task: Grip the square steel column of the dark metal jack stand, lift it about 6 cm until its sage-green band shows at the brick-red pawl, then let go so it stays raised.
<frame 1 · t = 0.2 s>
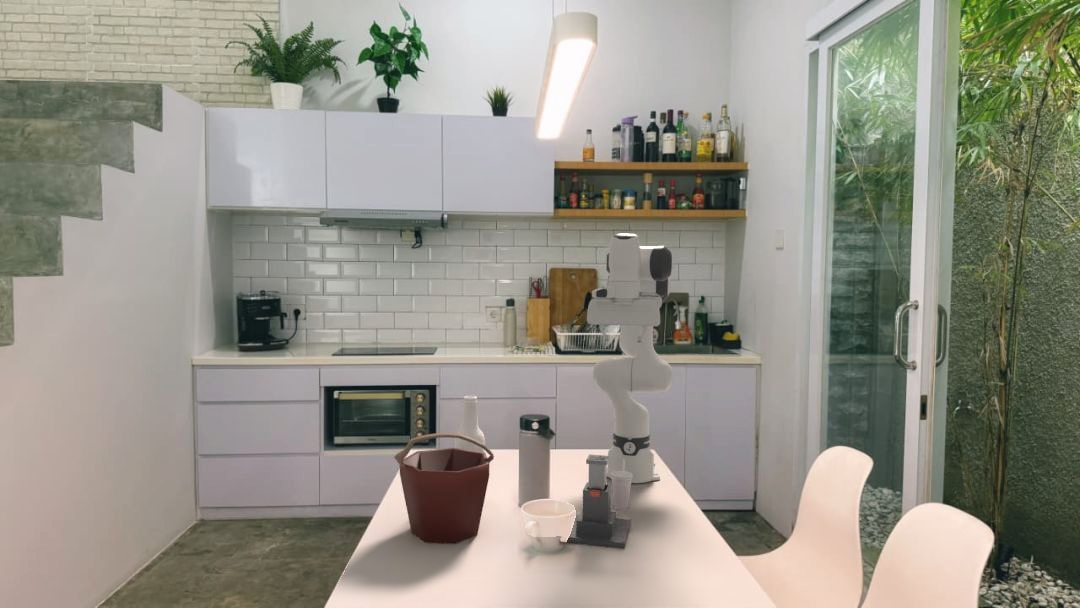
hand: (622, 341, 190), 48 cm above the table, fingers open, 8 cm apart
smoothie: (620, 507, 195), on the table
white bottle: (469, 498, 201), on the table
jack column: (597, 492, 175), point 11 cm above the table, slide at 0.0 cm
bucket: (445, 531, 176), on the table
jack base: (596, 533, 175), on the table
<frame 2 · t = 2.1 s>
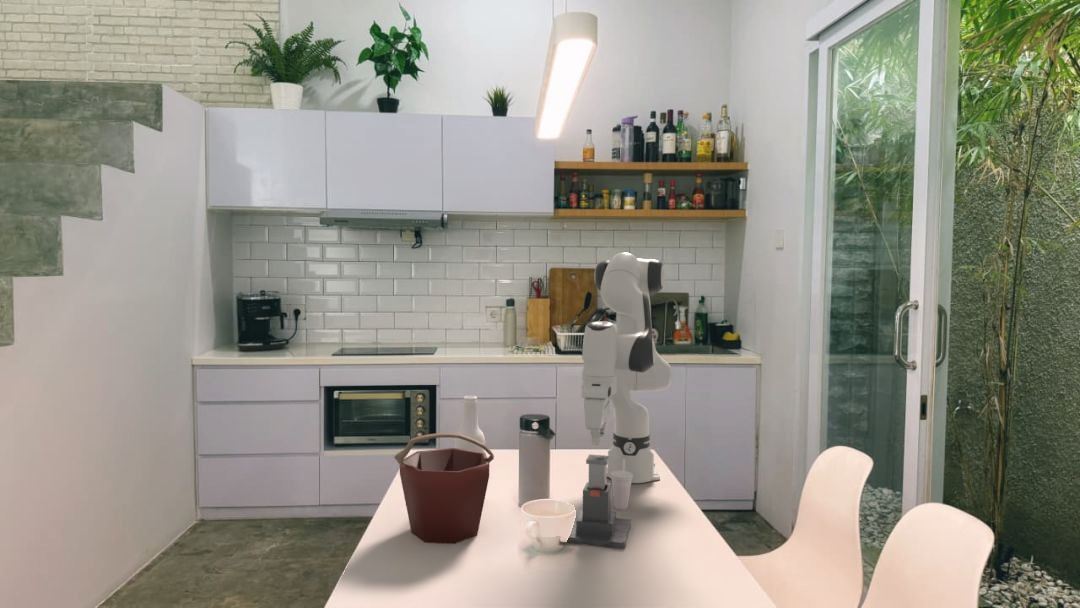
hand: (598, 440, 174), 24 cm above the table, fingers open, 8 cm apart
nothing on the table moved.
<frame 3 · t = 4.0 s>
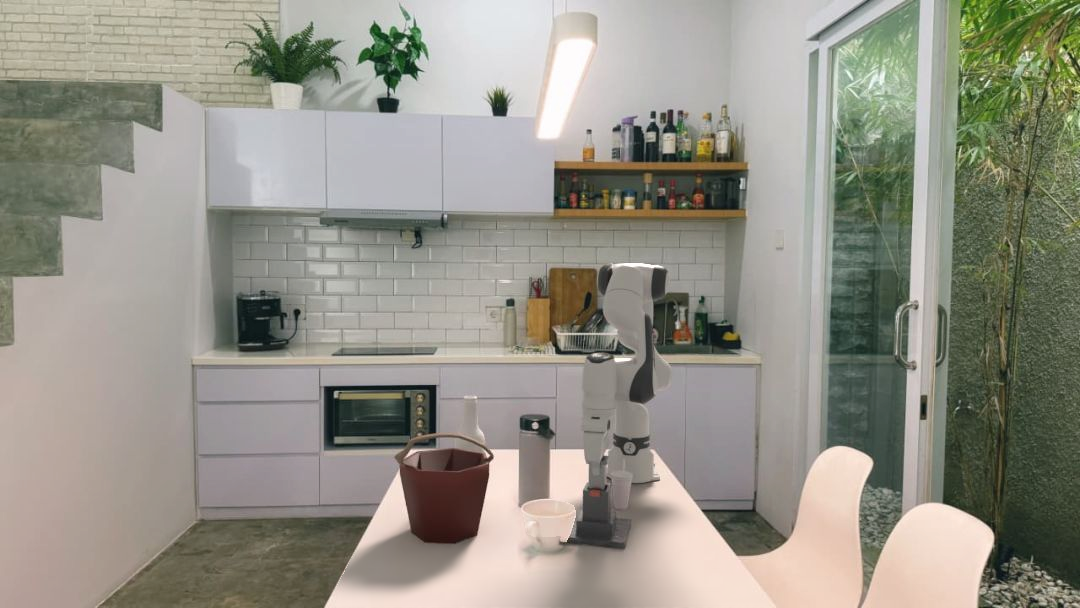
hand: (597, 471, 174), 16 cm above the table, fingers closed on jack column, 4 cm apart
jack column: (597, 492, 175), point 11 cm above the table, slide at 0.0 cm, touching gripper
everything else where it was.
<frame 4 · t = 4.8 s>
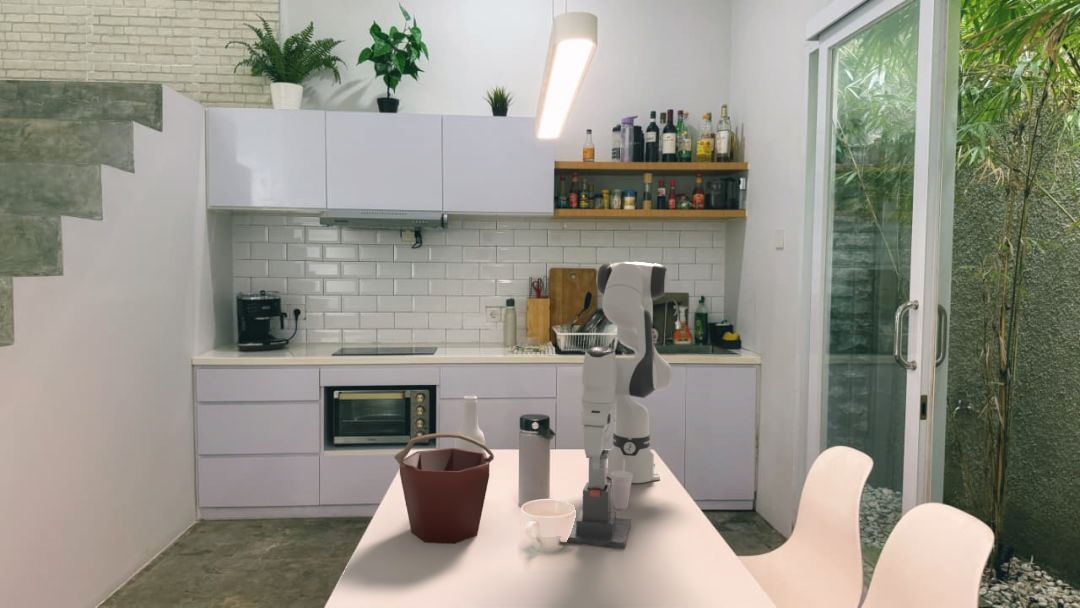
hand: (597, 465, 174), 18 cm above the table, fingers closed on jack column, 4 cm apart
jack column: (597, 486, 175), point 12 cm above the table, slide at 1.5 cm, touching gripper
everything else where it was.
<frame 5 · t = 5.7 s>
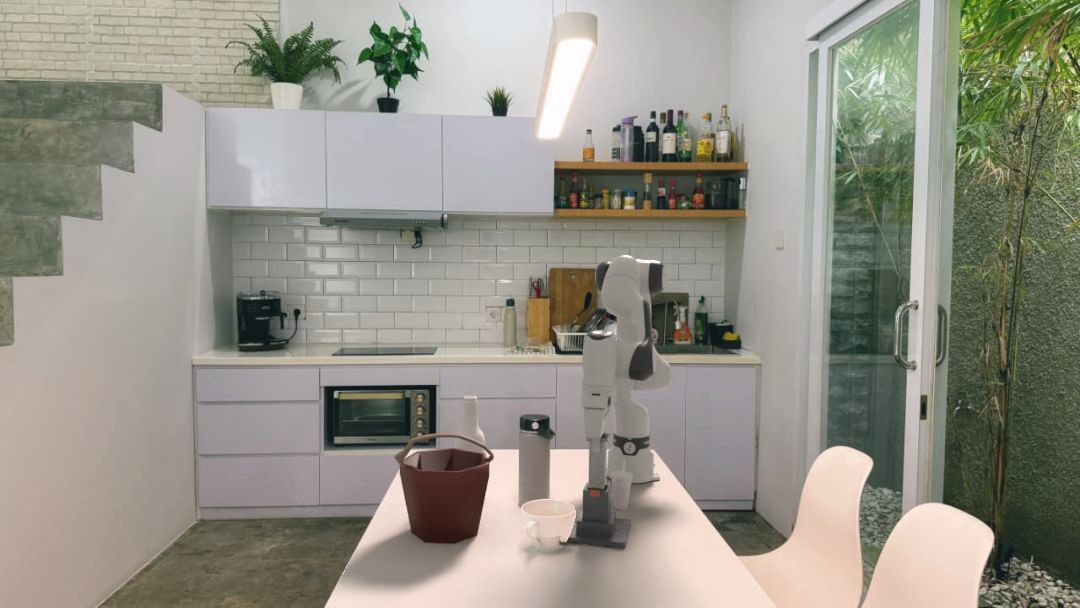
hand: (598, 448, 174), 22 cm above the table, fingers closed on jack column, 4 cm apart
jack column: (597, 470, 174), point 16 cm above the table, slide at 5.8 cm, touching gripper
everything else where it was.
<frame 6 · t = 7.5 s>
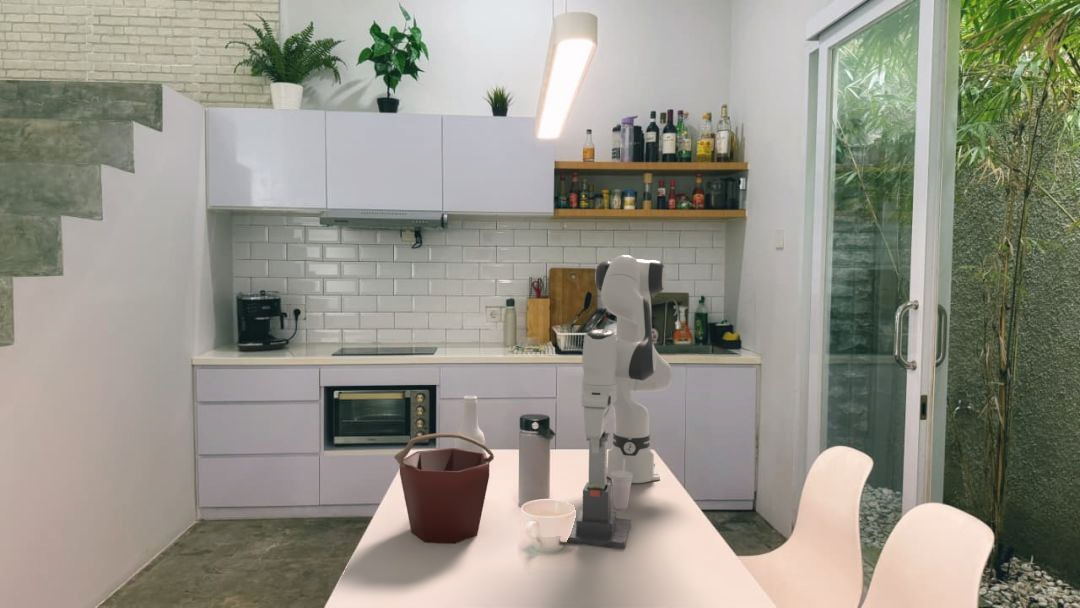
hand: (598, 448, 174), 22 cm above the table, fingers open, 8 cm apart
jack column: (597, 469, 174), point 17 cm above the table, slide at 5.9 cm
everything else where it was.
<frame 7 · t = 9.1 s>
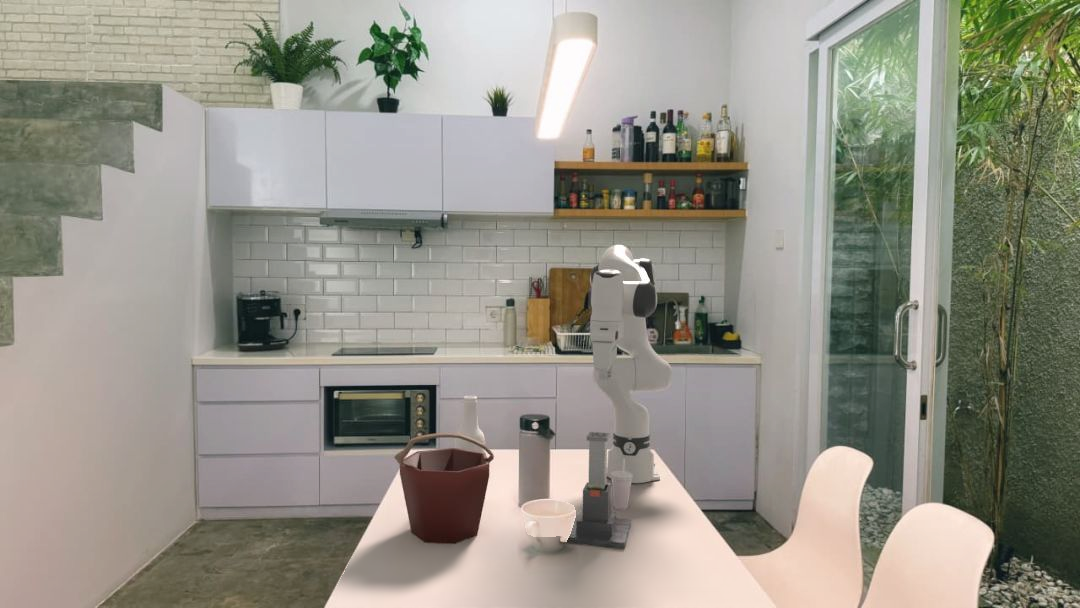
hand: (605, 381, 184), 37 cm above the table, fingers open, 8 cm apart
nothing on the table moved.
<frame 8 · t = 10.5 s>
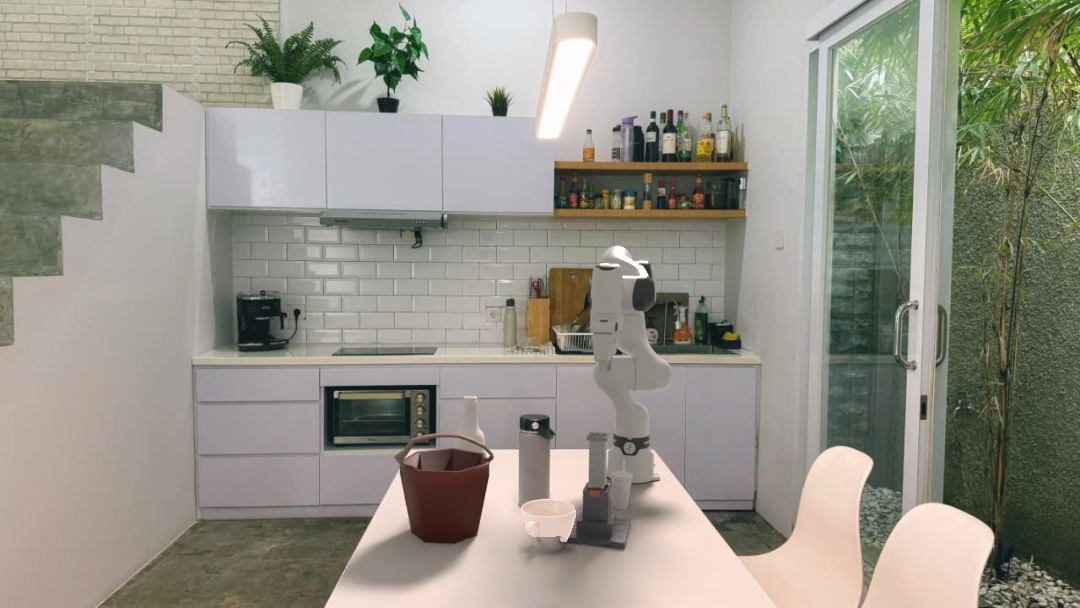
hand: (605, 374, 185), 39 cm above the table, fingers open, 8 cm apart
nothing on the table moved.
at the end: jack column slide at 5.9 cm; the gripper is holding nothing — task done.
